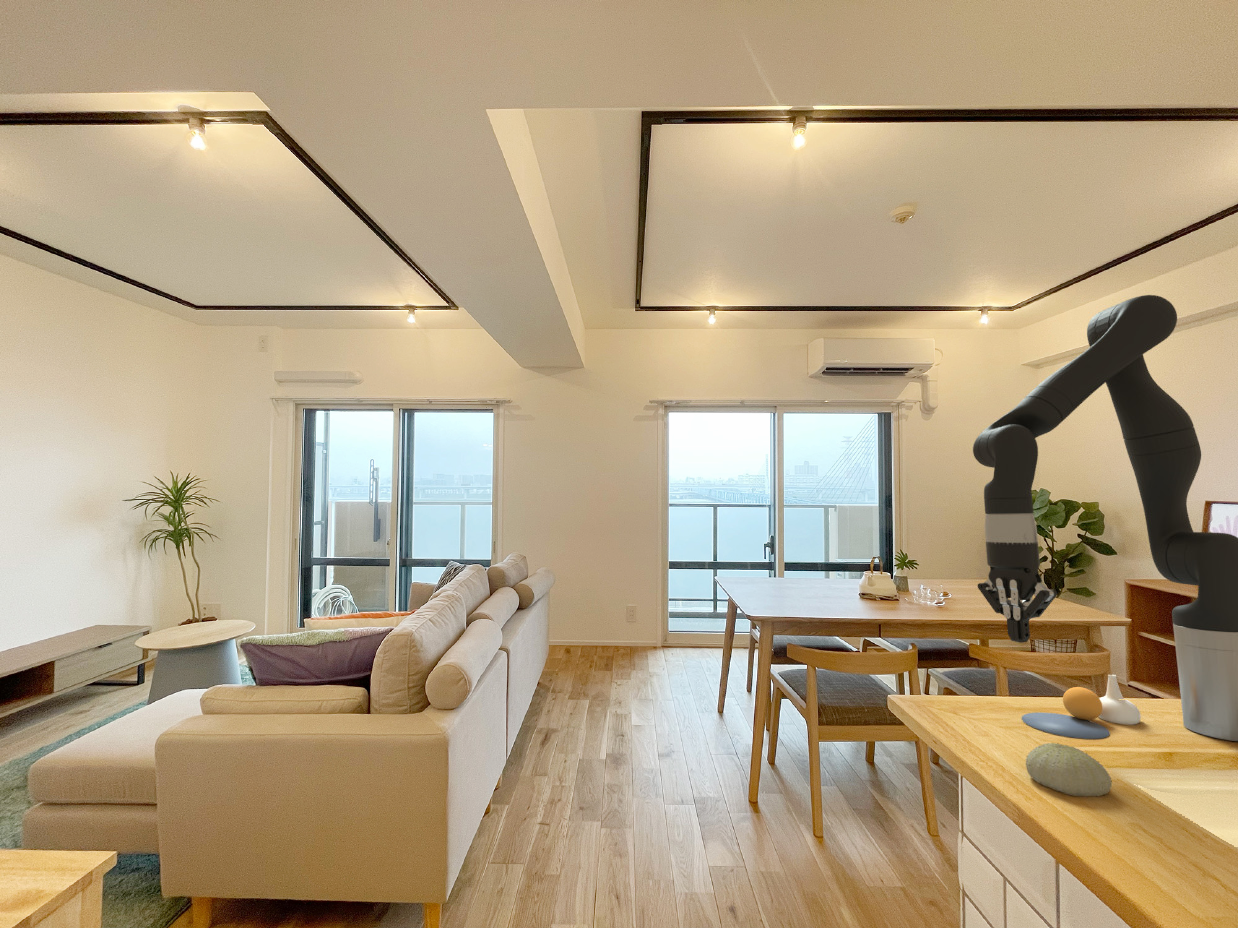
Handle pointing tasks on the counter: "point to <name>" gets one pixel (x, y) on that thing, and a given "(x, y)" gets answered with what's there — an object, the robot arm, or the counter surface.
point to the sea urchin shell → (1068, 770)
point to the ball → (1082, 703)
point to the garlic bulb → (1118, 705)
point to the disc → (1065, 725)
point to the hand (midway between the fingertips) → (1019, 641)
